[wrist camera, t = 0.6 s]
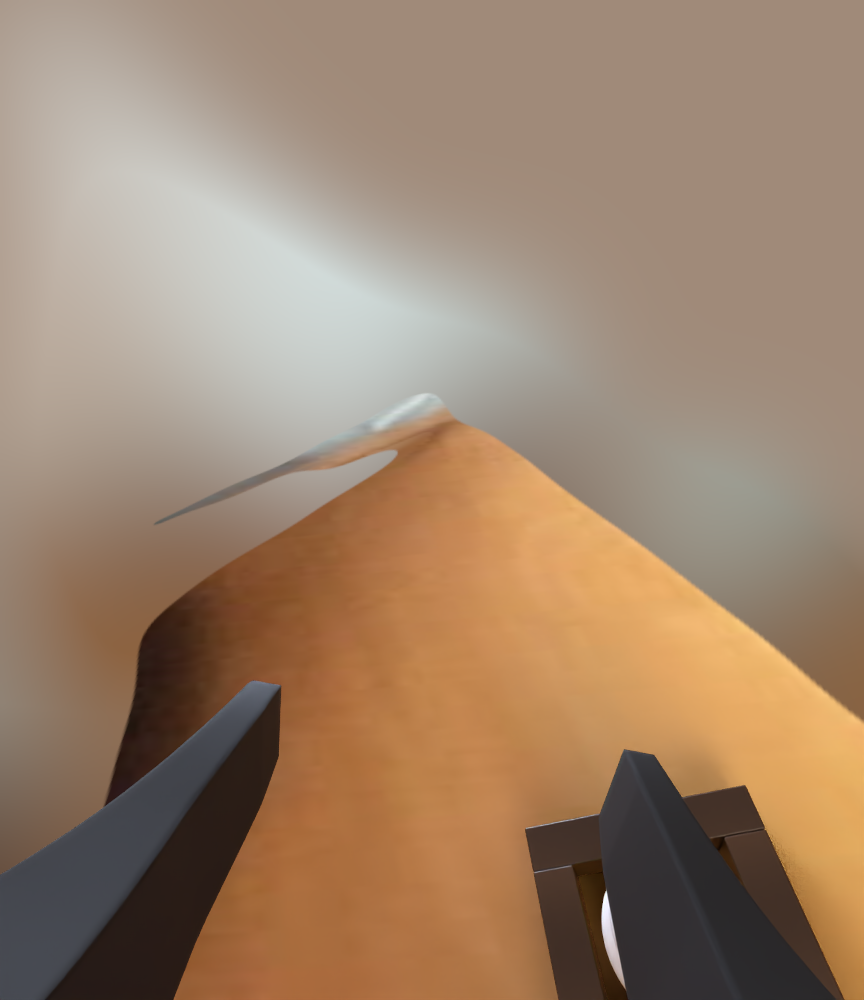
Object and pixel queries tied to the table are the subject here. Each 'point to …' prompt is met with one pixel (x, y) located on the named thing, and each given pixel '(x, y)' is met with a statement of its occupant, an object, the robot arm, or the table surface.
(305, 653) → the table surface
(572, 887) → the frame
